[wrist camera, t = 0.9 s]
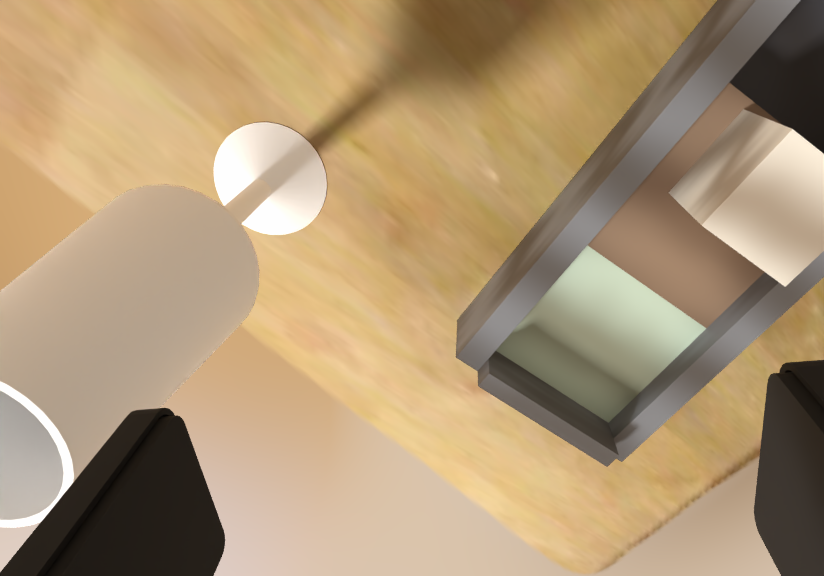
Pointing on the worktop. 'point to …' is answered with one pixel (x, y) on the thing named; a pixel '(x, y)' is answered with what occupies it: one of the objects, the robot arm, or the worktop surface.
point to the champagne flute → (136, 308)
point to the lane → (648, 246)
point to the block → (760, 194)
